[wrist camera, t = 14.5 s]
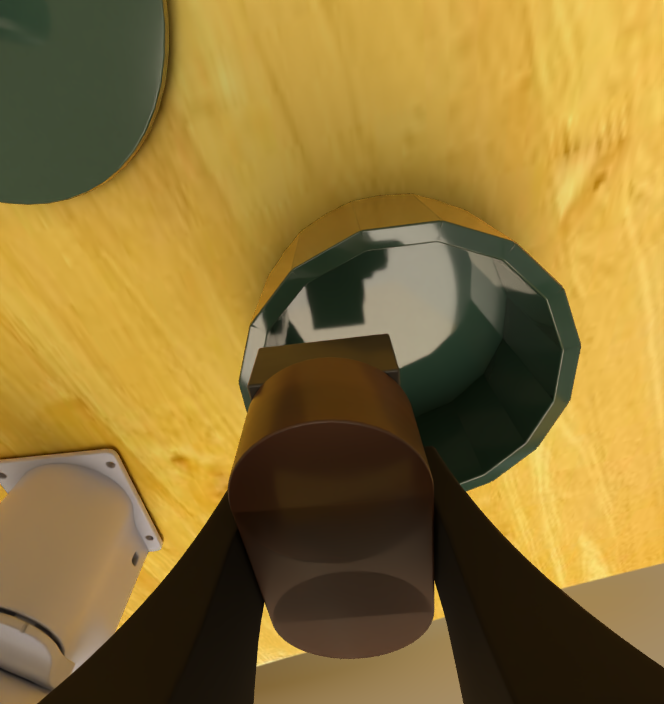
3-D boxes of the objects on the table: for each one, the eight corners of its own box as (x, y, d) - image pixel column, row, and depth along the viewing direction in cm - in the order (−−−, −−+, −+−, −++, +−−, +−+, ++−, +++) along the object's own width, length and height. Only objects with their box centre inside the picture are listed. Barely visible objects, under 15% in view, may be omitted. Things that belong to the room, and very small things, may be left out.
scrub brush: (408, 524, 16) (434, 654, 12) (295, 534, 16) (286, 664, 12) (398, 312, 11) (434, 408, 8) (243, 330, 12) (201, 433, 8)
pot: (503, 411, 24) (552, 491, 19) (286, 434, 25) (276, 517, 20) (528, 175, 18) (612, 198, 13) (236, 213, 19) (200, 250, 13)
